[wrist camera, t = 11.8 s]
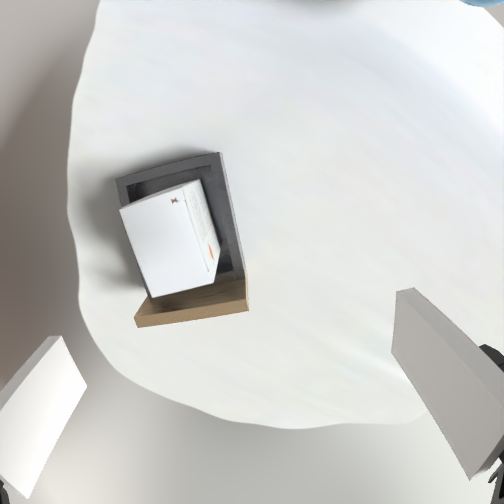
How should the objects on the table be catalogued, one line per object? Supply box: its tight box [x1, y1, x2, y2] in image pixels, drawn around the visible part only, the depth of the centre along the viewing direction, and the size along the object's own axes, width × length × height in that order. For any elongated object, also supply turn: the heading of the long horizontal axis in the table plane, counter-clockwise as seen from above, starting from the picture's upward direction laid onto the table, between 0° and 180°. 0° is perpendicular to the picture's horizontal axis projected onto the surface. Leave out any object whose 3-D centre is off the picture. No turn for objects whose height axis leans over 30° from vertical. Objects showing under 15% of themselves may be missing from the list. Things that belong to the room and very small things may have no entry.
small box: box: [119, 179, 221, 298], centre depth 27 cm, size 8×6×10 cm
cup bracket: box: [116, 152, 249, 328], centre depth 29 cm, size 11×14×9 cm
